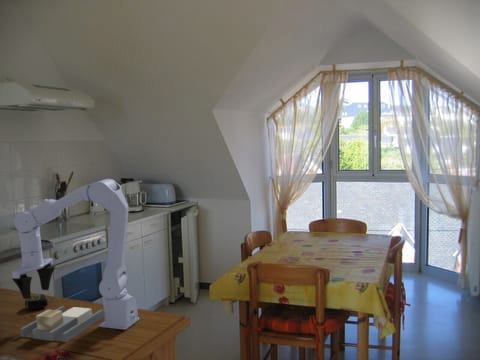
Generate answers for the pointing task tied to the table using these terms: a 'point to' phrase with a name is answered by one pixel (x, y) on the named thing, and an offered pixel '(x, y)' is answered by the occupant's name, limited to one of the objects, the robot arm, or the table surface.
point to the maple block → (49, 320)
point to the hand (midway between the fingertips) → (36, 294)
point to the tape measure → (36, 302)
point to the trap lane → (64, 325)
